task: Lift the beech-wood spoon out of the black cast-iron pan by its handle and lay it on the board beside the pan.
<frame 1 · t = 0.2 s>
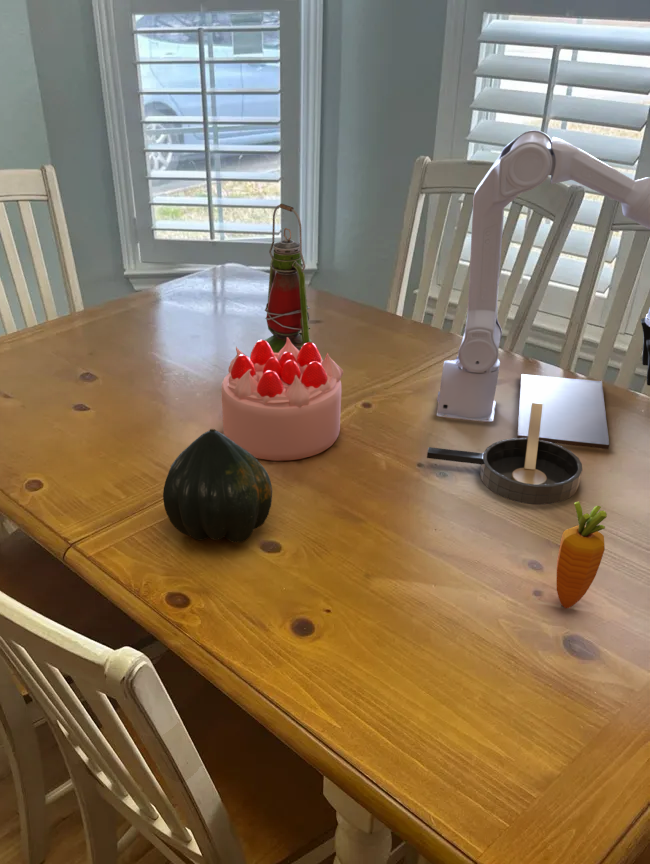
carrot: (565, 608, 101), on the table
pan: (527, 481, 124), on the table
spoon: (528, 481, 123), point 1 cm above the table, touching pan
squash: (218, 527, 117), on the table
lantern: (287, 365, 161), on the table
cake: (282, 433, 139), on the table
board: (560, 413, 141), on the table
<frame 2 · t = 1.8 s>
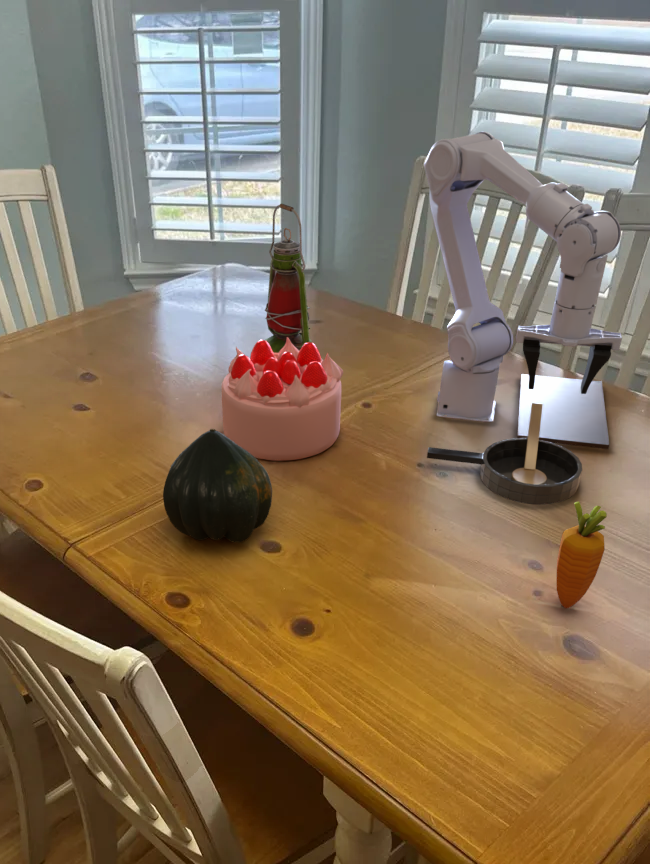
hand: (556, 388, 126), 10 cm above the table, tool pointing down, fingers open, 7 cm apart
nothing on the table moved.
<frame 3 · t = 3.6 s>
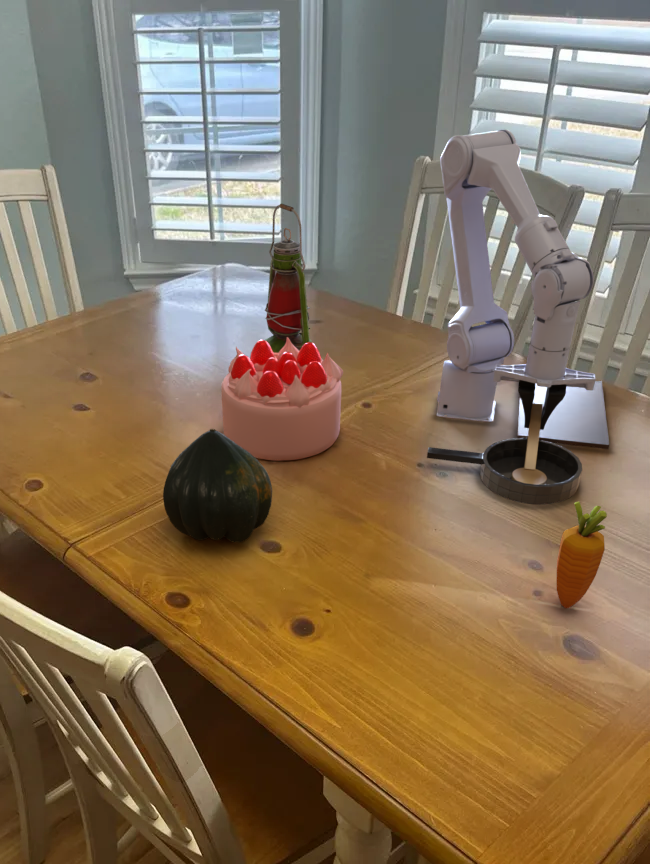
hand: (533, 425, 129), 4 cm above the table, tool pointing down, fingers closed on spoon
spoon: (528, 481, 123), point 1 cm above the table, touching gripper, pan
everything else where it was.
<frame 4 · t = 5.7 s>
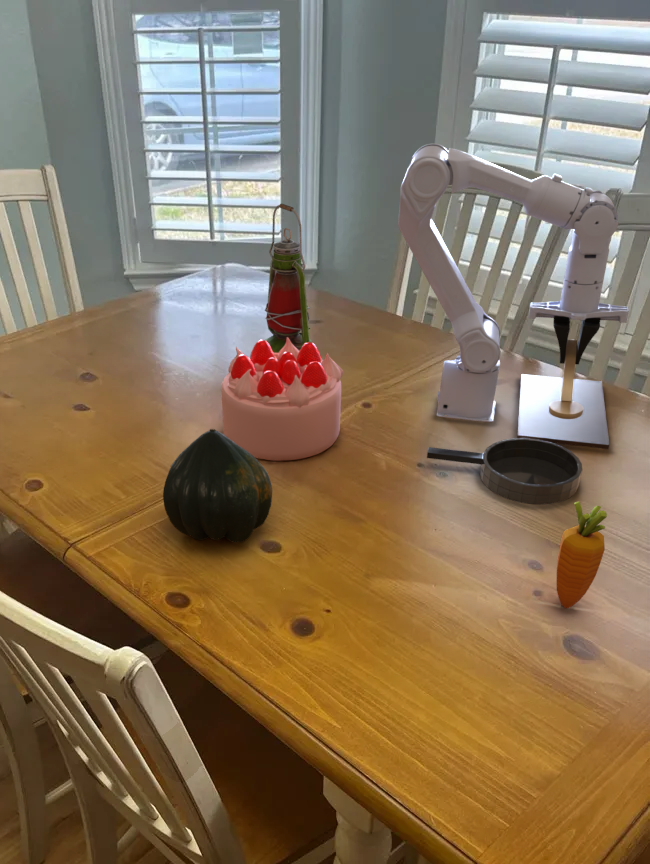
hand: (569, 361, 134), 10 cm above the table, tool pointing down, fingers closed on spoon
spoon: (565, 412, 128), point 7 cm above the table, touching gripper
everything else where it was.
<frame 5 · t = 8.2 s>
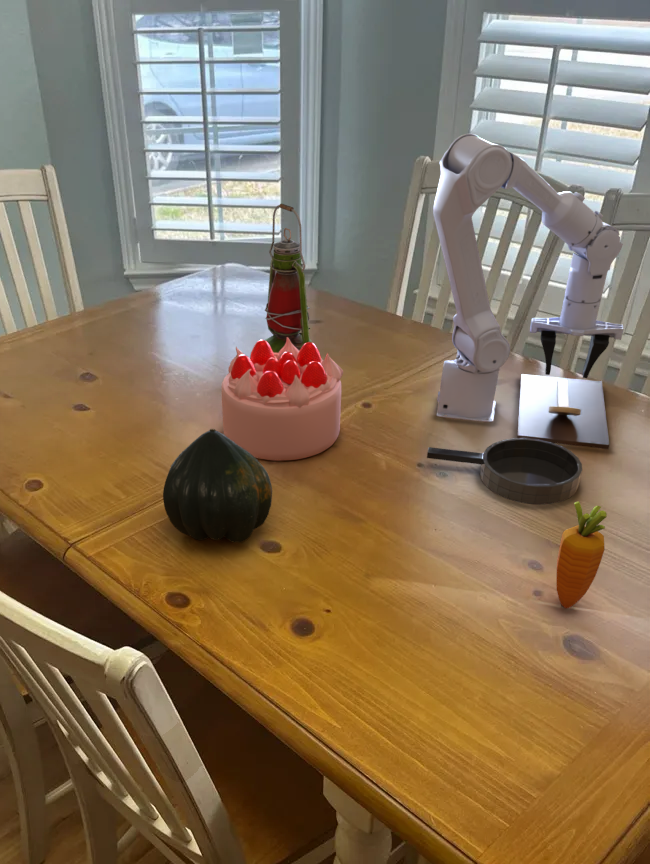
hand: (566, 374, 142), 5 cm above the table, tool pointing down, fingers open, 5 cm apart
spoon: (564, 413, 136), point 2 cm above the table, tilted 31°, touching board
everything else where it was.
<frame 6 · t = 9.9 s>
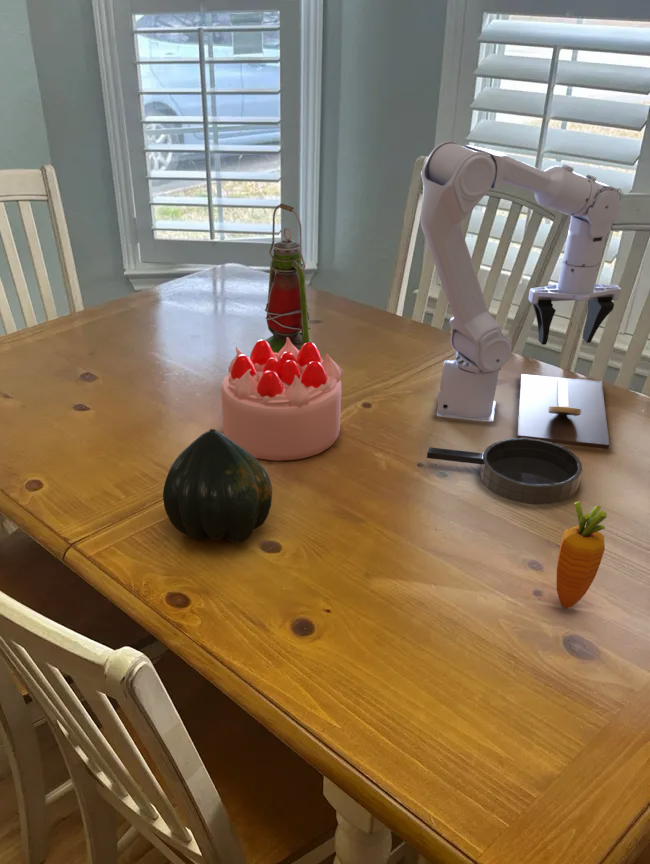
hand: (564, 341, 140), 10 cm above the table, tool pointing down, fingers open, 7 cm apart
nothing on the table moved.
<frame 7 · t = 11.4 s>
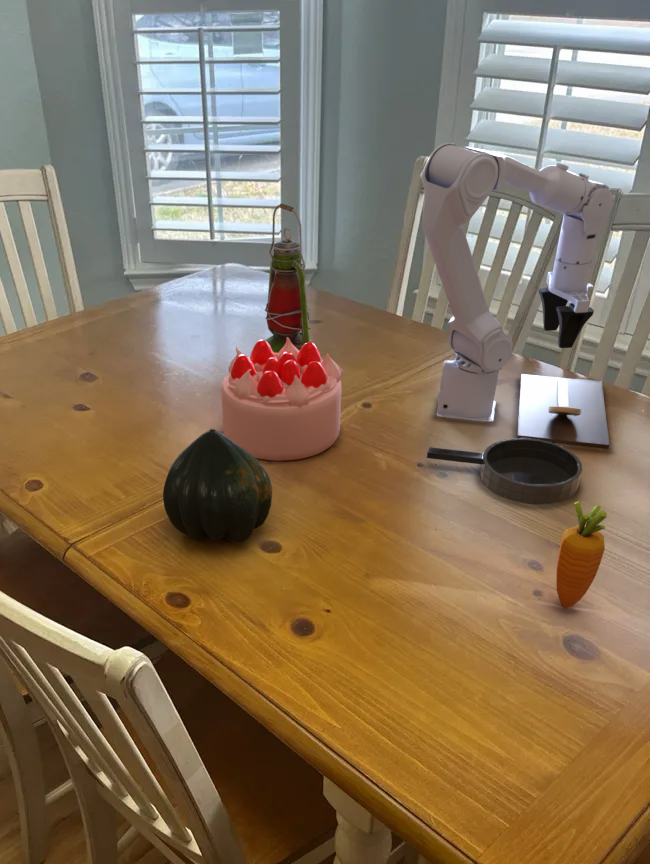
hand: (557, 338, 142), 10 cm above the table, tool pointing down, fingers open, 7 cm apart
nothing on the table moved.
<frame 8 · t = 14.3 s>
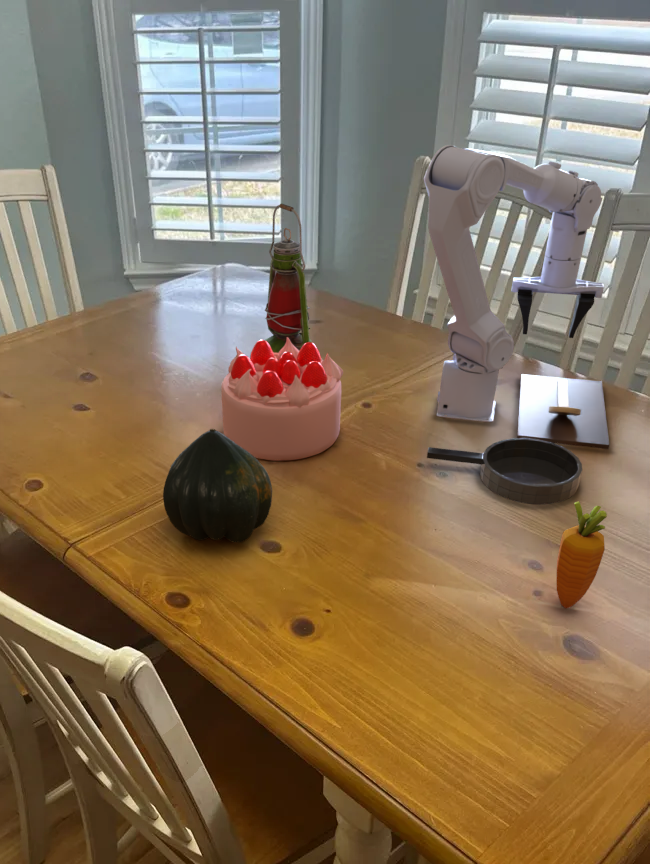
hand: (547, 334, 143), 10 cm above the table, tool pointing down, fingers open, 7 cm apart
nothing on the table moved.
at the end: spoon inside the target area on the board (5.2 cm from its centre), point 2.5 cm above the board's base; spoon touching board; the gripper is holding nothing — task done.
